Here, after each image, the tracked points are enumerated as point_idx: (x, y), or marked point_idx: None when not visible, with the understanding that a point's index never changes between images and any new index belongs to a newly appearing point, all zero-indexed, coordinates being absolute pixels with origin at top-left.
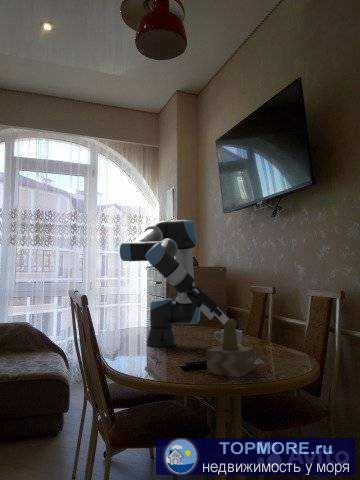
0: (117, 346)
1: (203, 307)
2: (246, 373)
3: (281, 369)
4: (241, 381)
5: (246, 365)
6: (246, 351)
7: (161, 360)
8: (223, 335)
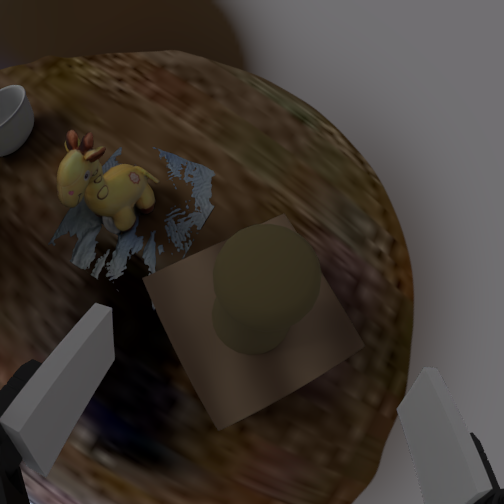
0: None
1: (47, 430)
2: None
3: (307, 182)
4: (368, 371)
5: None
6: (324, 278)
7: None
8: None
